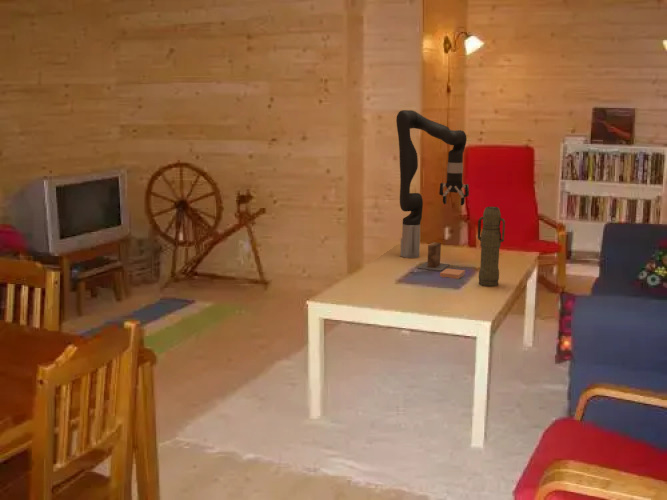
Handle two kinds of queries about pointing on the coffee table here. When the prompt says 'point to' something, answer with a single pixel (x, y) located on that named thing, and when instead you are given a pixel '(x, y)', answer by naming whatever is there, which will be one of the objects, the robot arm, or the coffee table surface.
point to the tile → (452, 273)
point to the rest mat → (438, 268)
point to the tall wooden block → (434, 254)
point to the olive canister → (490, 246)
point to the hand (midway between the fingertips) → (453, 204)
